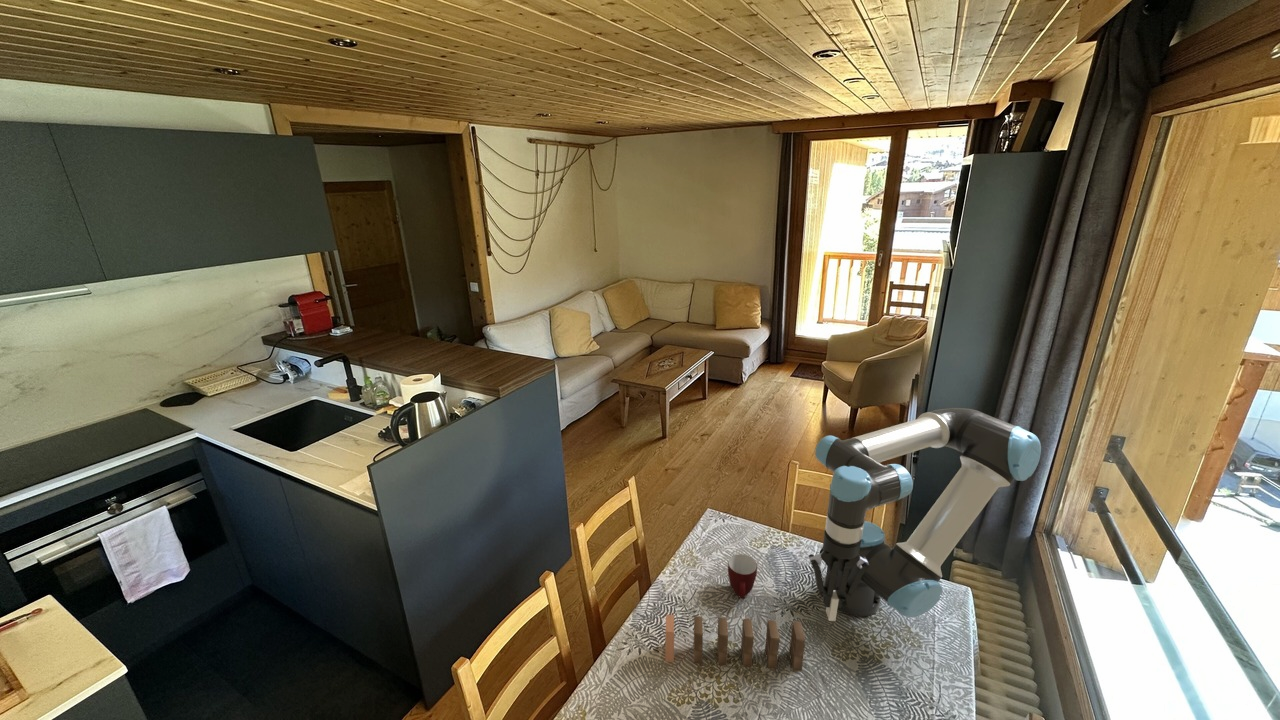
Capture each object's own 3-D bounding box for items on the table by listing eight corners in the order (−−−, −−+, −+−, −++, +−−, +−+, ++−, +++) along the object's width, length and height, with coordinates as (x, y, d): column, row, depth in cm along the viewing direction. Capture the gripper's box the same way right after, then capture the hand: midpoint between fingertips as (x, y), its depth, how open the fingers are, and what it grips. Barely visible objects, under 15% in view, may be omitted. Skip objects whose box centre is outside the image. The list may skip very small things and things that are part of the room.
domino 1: (673, 644, 127) (674, 614, 123) (673, 662, 122) (673, 631, 118) (665, 644, 127) (665, 614, 123) (665, 661, 122) (665, 631, 119)
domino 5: (773, 650, 124) (775, 620, 121) (776, 669, 120) (779, 638, 116) (764, 650, 124) (767, 620, 121) (767, 668, 120) (770, 637, 116)
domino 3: (725, 647, 125) (726, 617, 122) (726, 665, 121) (728, 635, 117) (716, 647, 126) (718, 617, 122) (718, 665, 121) (719, 634, 117)
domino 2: (701, 646, 126) (702, 616, 123) (702, 664, 121) (702, 633, 118) (693, 645, 126) (693, 615, 123) (693, 663, 121) (694, 633, 118)
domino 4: (748, 649, 125) (751, 619, 121) (751, 667, 120) (753, 636, 117) (740, 648, 125) (742, 618, 122) (742, 666, 120) (744, 636, 117)
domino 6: (797, 652, 124) (800, 621, 120) (801, 670, 119) (805, 639, 116) (788, 651, 124) (791, 621, 121) (792, 670, 119) (796, 639, 116)
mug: (759, 610, 136) (761, 581, 133) (729, 609, 136) (731, 581, 133) (752, 581, 146) (754, 554, 143) (725, 580, 146) (726, 553, 143)
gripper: (867, 524, 111) (854, 604, 119) (808, 521, 112) (798, 601, 120) (880, 547, 104) (864, 631, 112) (816, 544, 105) (805, 627, 113)
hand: (830, 616), depth 116 cm, fingers closed
